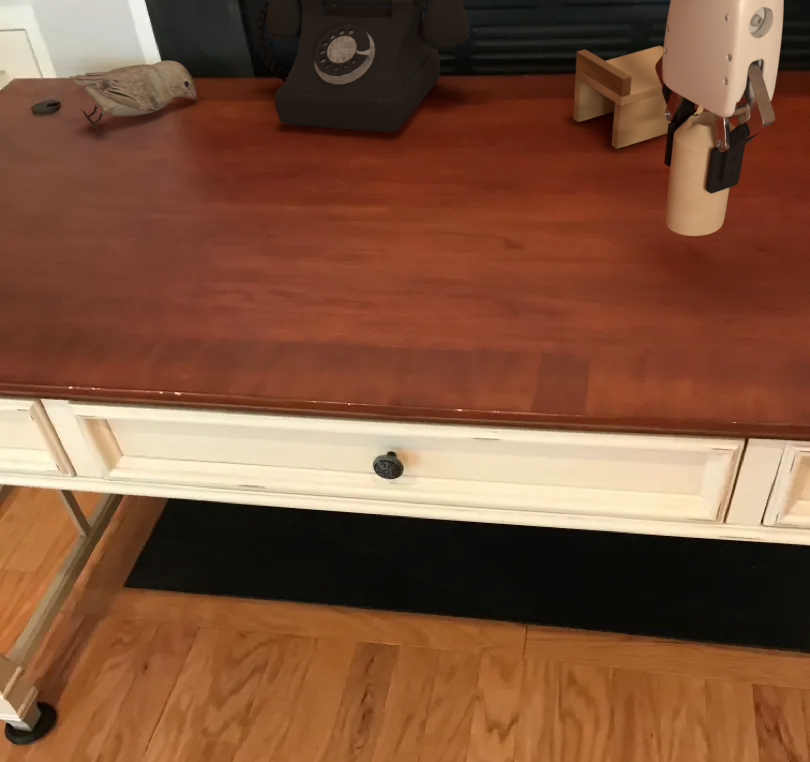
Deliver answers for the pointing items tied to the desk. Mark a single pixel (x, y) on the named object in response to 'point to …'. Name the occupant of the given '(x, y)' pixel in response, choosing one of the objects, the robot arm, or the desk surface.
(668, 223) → the candle
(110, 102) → the decorative bird
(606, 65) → the wooden stand
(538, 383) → the desk surface
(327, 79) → the rotary telephone
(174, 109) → the desk surface
